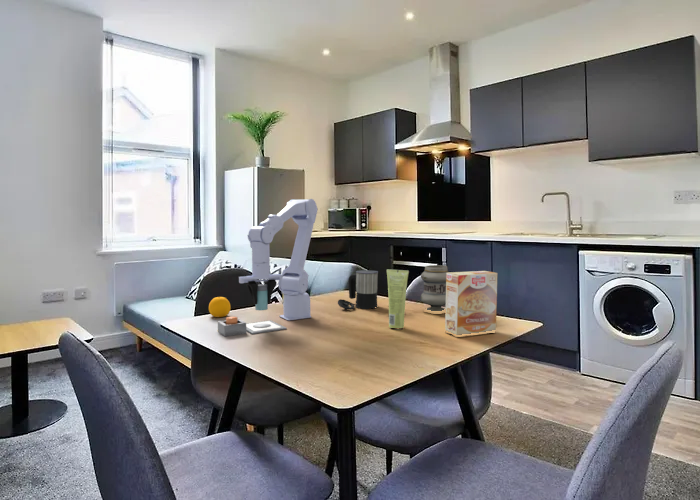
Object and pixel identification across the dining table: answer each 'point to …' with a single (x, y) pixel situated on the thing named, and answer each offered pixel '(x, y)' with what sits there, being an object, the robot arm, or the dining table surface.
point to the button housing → (232, 328)
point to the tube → (397, 296)
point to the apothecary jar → (434, 286)
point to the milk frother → (362, 290)
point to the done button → (231, 320)
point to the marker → (262, 298)
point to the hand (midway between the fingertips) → (261, 303)
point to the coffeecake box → (471, 302)
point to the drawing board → (263, 327)
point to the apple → (219, 307)
